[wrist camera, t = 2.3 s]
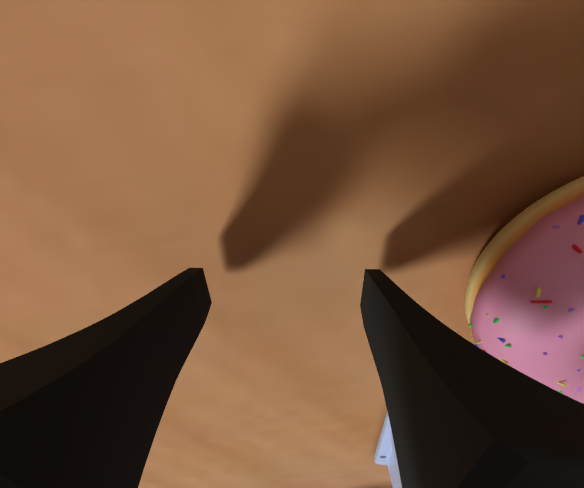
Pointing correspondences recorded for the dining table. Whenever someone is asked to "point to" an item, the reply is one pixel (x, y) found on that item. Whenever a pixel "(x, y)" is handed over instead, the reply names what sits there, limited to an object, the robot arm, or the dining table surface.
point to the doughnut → (535, 292)
